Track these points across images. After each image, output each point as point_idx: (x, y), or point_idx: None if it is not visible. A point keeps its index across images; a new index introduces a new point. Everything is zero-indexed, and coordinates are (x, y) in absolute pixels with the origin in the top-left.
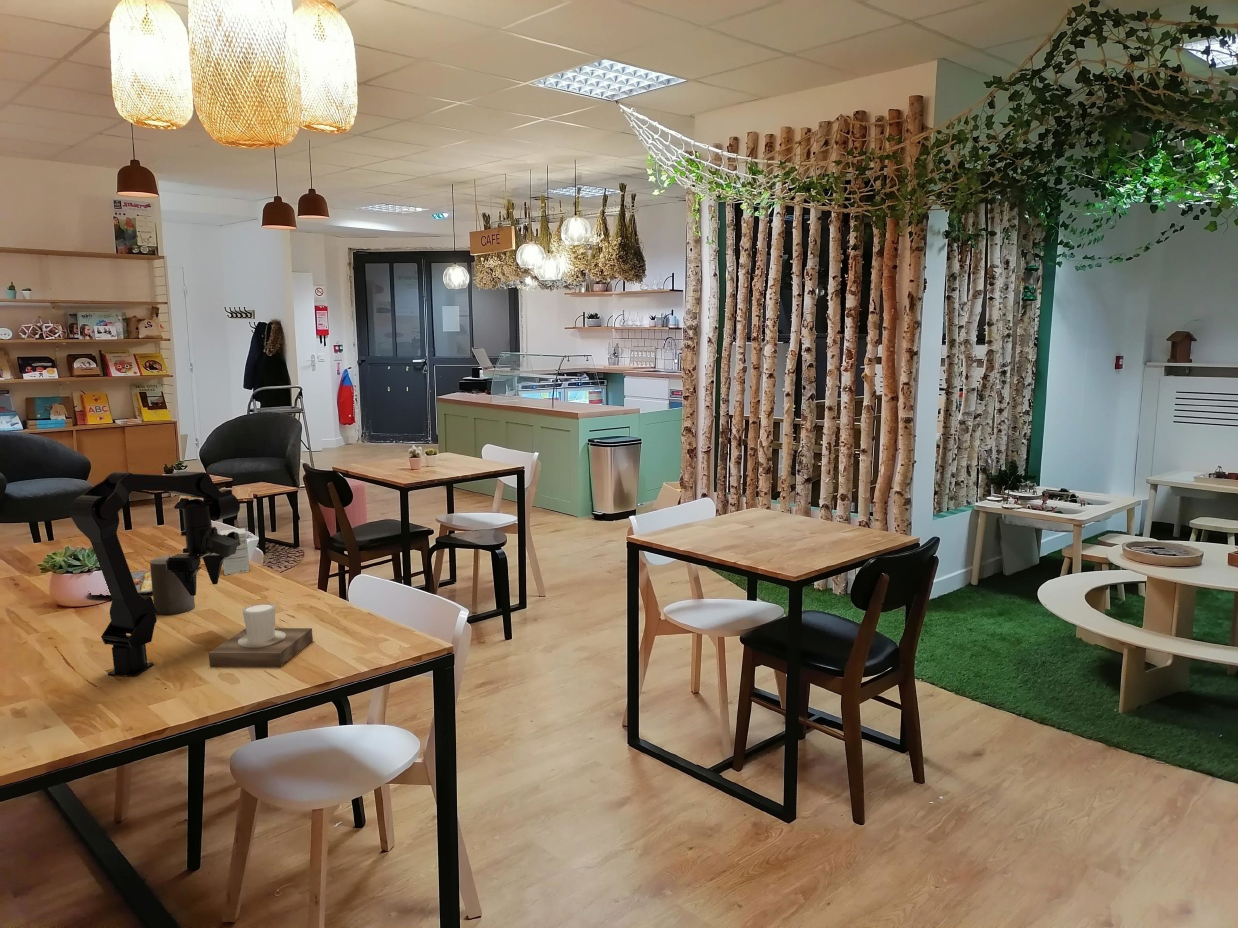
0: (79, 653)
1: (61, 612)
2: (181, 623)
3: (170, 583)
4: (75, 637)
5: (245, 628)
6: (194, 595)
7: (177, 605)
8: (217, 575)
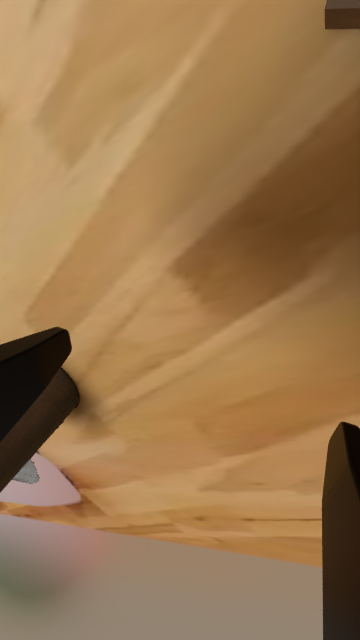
0: (304, 501)
1: (93, 499)
2: (120, 357)
3: (15, 438)
4: (200, 497)
5: (337, 6)
6: (355, 427)
7: (53, 386)
8: (12, 358)
